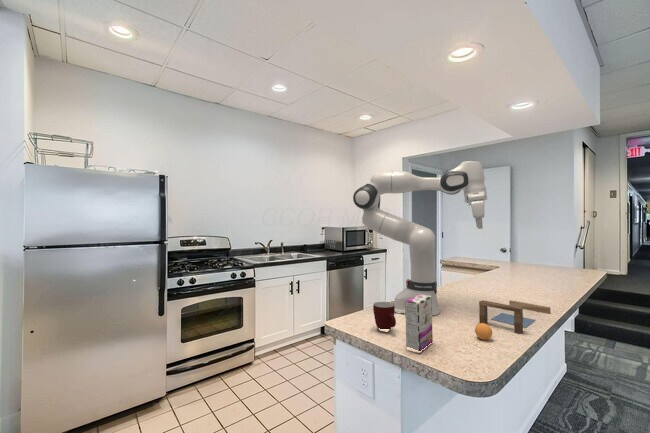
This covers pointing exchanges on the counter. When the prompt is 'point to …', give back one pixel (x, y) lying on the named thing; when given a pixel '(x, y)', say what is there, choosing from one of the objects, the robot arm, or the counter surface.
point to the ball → (483, 331)
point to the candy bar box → (418, 322)
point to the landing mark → (511, 319)
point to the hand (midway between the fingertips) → (479, 228)
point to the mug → (384, 315)
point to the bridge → (517, 310)
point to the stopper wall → (531, 307)
